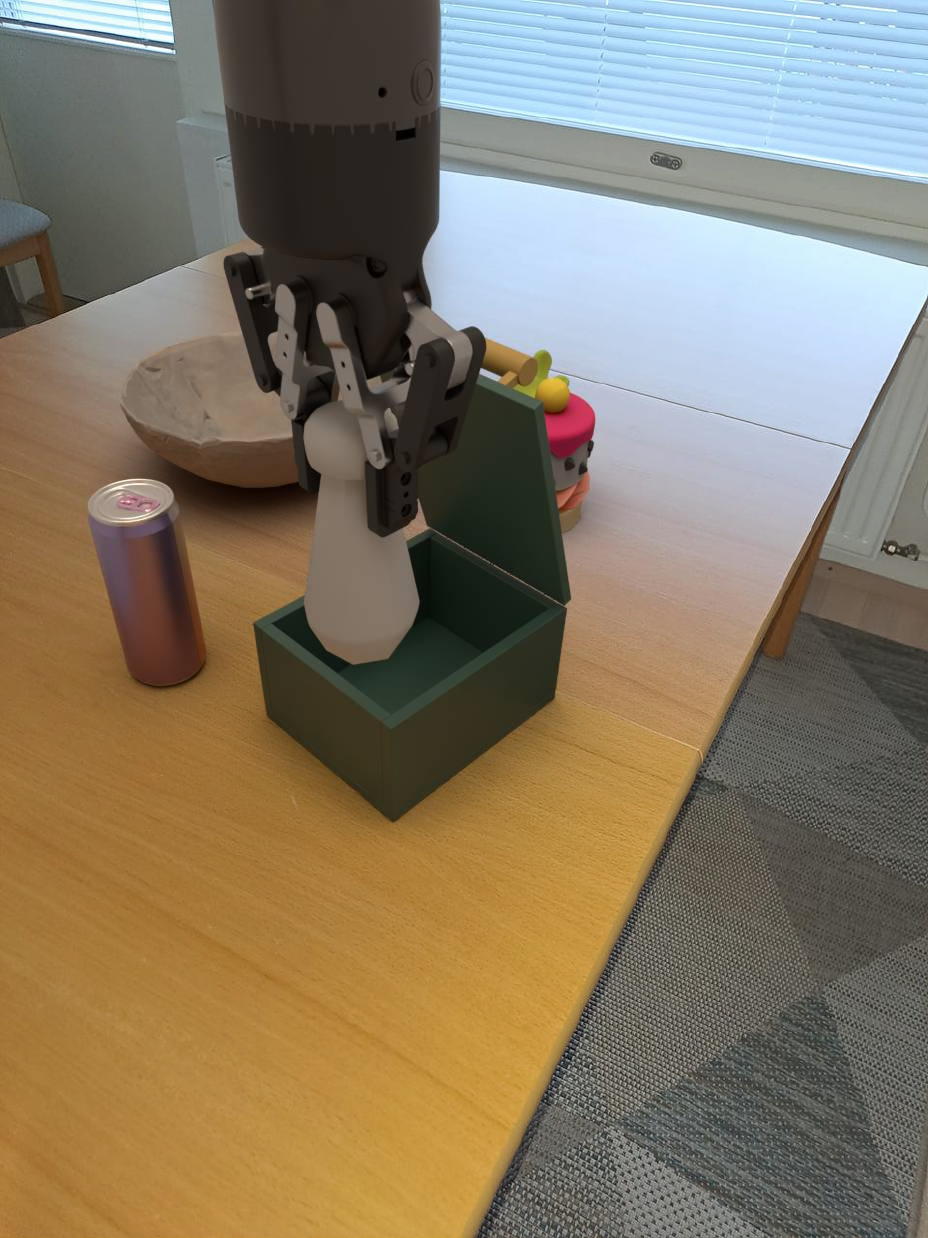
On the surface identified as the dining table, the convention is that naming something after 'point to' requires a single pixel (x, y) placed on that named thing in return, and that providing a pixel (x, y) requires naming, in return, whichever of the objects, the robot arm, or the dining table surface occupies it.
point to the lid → (501, 479)
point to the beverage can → (148, 579)
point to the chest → (418, 678)
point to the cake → (564, 437)
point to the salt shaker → (353, 549)
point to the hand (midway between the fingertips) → (356, 504)
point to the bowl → (212, 412)
